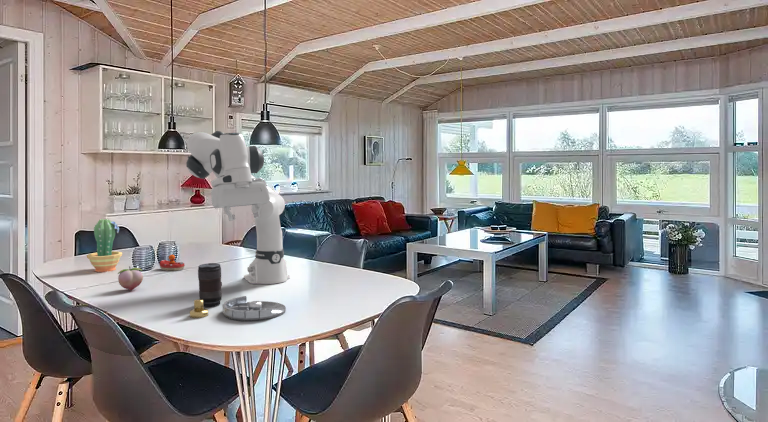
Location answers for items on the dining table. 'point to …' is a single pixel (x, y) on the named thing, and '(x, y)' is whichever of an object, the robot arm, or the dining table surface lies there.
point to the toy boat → (171, 264)
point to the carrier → (251, 309)
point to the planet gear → (198, 310)
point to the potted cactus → (105, 247)
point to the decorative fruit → (130, 278)
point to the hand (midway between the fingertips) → (244, 219)
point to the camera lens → (210, 284)
